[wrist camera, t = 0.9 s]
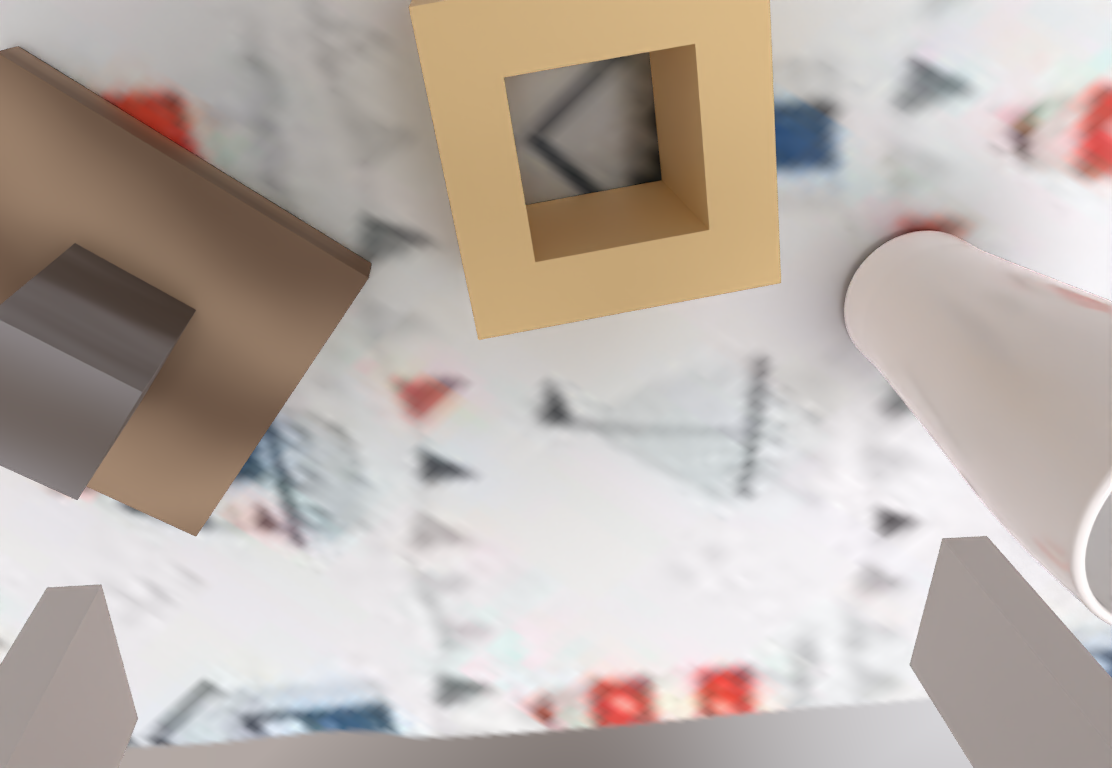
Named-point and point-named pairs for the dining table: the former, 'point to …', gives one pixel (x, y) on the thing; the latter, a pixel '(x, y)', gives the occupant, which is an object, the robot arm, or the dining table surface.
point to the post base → (184, 255)
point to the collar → (618, 214)
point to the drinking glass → (1003, 390)
